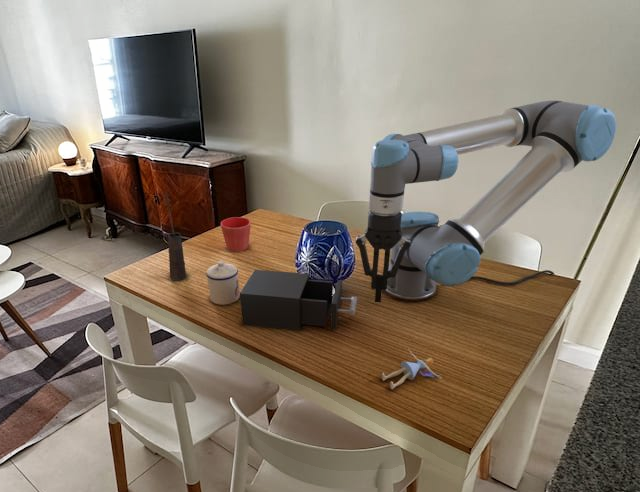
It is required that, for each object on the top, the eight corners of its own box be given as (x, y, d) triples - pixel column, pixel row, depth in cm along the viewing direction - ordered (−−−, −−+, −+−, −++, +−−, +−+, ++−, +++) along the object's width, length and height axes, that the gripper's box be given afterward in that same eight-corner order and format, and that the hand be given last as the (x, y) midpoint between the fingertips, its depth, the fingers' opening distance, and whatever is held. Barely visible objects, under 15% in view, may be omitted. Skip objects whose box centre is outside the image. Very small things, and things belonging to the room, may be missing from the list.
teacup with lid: (243, 302, 130) (240, 266, 125) (212, 308, 128) (207, 271, 123) (234, 283, 140) (231, 249, 135) (205, 288, 138) (200, 254, 133)
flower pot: (258, 244, 166) (256, 219, 161) (240, 255, 158) (238, 229, 153) (235, 239, 171) (233, 214, 167) (217, 250, 163) (214, 224, 159)
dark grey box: (309, 303, 128) (309, 273, 124) (299, 330, 117) (299, 298, 112) (256, 298, 132) (254, 269, 127) (242, 324, 120) (239, 293, 116)
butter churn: (194, 283, 142) (181, 197, 128) (163, 286, 141) (147, 199, 127) (195, 270, 150) (182, 187, 136) (165, 273, 149) (150, 190, 135)
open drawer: (357, 306, 124) (359, 281, 120) (353, 331, 114) (354, 305, 110) (290, 300, 129) (289, 276, 125) (280, 324, 118) (279, 298, 114)
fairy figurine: (371, 357, 100) (415, 338, 104) (372, 373, 103) (415, 354, 106) (403, 389, 91) (451, 367, 94) (403, 406, 93) (450, 384, 97)
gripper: (354, 215, 102) (350, 304, 113) (415, 218, 99) (404, 310, 110) (358, 204, 108) (353, 290, 119) (414, 207, 105) (404, 294, 116)
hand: (378, 299), depth 115 cm, fingers closed
